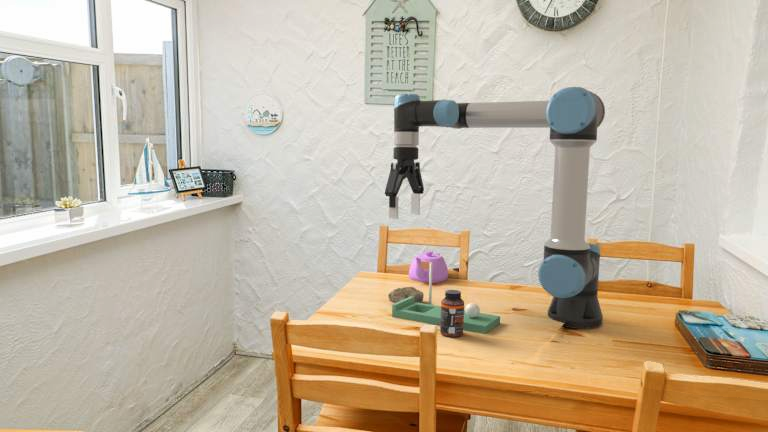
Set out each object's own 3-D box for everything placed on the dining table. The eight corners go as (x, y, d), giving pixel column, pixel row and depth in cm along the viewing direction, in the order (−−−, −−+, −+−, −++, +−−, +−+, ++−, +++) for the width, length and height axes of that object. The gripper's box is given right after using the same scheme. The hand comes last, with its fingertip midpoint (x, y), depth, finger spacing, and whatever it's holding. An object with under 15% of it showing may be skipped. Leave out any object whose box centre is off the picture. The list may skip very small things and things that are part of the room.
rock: (384, 303, 180) (384, 289, 179) (408, 297, 188) (408, 283, 187) (403, 308, 175) (403, 293, 174) (426, 302, 183) (427, 288, 182)
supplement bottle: (457, 339, 148) (458, 295, 147) (436, 335, 151) (437, 292, 150) (466, 333, 153) (468, 290, 152) (446, 329, 156) (447, 287, 155)
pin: (436, 309, 175) (437, 262, 173) (432, 312, 172) (433, 264, 171) (422, 307, 177) (423, 260, 176) (417, 309, 175) (419, 262, 173)
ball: (481, 316, 161) (482, 302, 161) (476, 320, 158) (476, 305, 157) (468, 314, 163) (468, 300, 163) (462, 318, 160) (462, 303, 159)
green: (499, 323, 162) (500, 310, 162) (485, 333, 153) (485, 320, 153) (410, 307, 177) (410, 296, 176) (392, 316, 167) (392, 304, 167)
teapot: (398, 285, 205) (398, 254, 204) (422, 274, 223) (422, 245, 221) (433, 290, 199) (434, 258, 197) (455, 279, 216) (456, 249, 215)
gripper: (414, 146, 190) (413, 211, 193) (373, 145, 169) (372, 219, 171) (435, 146, 186) (433, 213, 189) (396, 146, 165) (394, 221, 167)
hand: (404, 216), depth 180 cm, fingers open, 13 cm apart
